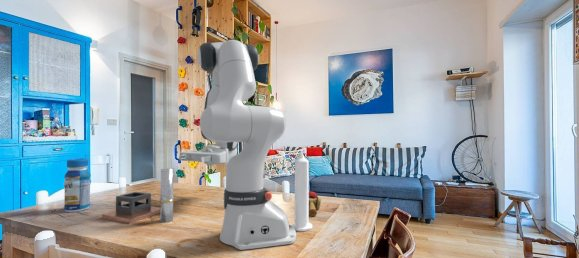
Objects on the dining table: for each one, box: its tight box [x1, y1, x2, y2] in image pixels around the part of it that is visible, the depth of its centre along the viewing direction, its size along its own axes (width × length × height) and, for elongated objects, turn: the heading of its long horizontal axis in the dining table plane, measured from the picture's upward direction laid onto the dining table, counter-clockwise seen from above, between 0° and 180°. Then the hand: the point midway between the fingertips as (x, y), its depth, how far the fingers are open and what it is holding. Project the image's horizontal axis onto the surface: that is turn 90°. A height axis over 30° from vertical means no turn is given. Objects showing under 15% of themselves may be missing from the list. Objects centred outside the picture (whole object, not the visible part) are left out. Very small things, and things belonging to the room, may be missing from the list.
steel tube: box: [159, 167, 175, 223], centre depth 94 cm, size 4×4×18 cm
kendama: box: [309, 190, 322, 217], centre depth 108 cm, size 8×6×18 cm
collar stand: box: [101, 191, 161, 224], centre depth 99 cm, size 14×14×8 cm
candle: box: [290, 150, 313, 232], centre depth 87 cm, size 7×7×25 cm
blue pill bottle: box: [63, 158, 92, 213], centre depth 107 cm, size 8×8×20 cm
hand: (190, 159), depth 105 cm, fingers open, 8 cm apart
